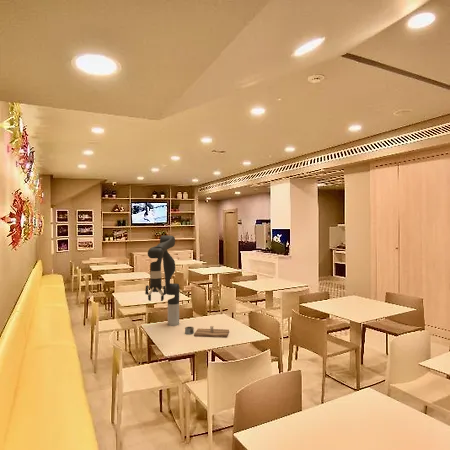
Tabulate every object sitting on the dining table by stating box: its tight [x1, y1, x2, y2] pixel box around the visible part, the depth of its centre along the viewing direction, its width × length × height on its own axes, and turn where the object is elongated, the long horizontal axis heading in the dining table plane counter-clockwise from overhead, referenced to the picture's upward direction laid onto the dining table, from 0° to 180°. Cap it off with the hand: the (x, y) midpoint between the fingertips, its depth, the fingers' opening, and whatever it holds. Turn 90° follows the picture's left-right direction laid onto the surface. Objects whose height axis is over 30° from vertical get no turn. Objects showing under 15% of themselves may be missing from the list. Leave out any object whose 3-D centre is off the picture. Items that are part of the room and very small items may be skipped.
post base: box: [193, 325, 230, 339], centre depth 267 cm, size 14×24×6 cm, turn 83°
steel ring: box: [184, 326, 195, 335], centre depth 269 cm, size 6×6×4 cm
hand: (155, 300), depth 247 cm, fingers open, 8 cm apart
